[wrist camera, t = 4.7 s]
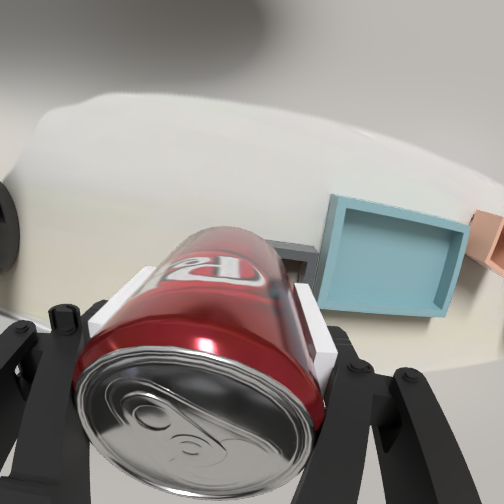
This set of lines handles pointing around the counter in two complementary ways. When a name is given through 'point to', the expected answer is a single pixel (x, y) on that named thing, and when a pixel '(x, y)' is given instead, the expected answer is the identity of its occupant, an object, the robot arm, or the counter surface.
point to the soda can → (204, 374)
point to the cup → (487, 241)
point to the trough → (388, 259)
